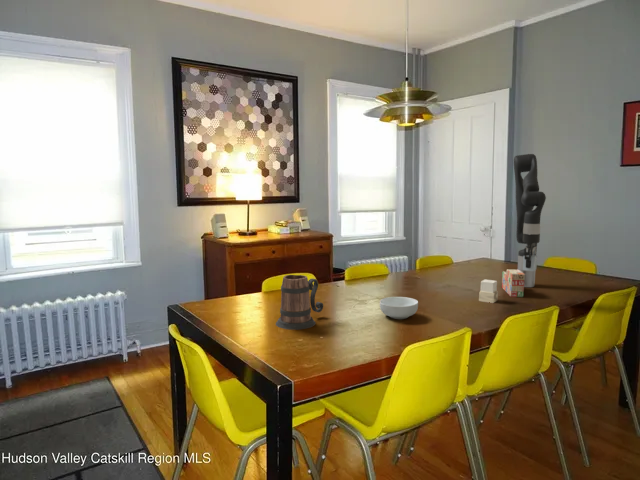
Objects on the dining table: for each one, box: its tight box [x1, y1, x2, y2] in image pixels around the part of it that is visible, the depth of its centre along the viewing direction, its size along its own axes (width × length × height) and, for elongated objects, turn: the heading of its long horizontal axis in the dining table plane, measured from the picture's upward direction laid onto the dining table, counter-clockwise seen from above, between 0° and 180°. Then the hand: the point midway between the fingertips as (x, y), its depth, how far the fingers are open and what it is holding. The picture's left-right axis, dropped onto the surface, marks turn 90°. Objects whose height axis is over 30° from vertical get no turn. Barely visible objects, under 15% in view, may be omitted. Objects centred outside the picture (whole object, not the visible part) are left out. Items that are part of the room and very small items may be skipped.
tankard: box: [275, 274, 324, 331], centre depth 192 cm, size 24×17×20 cm
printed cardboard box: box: [501, 268, 525, 298], centre depth 244 cm, size 21×6×12 cm, turn 171°
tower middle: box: [480, 279, 498, 293], centre depth 226 cm, size 6×6×5 cm
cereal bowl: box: [379, 296, 419, 320], centre depth 200 cm, size 17×17×7 cm
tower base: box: [478, 290, 499, 304], centre depth 227 cm, size 7×7×5 cm
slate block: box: [523, 254, 538, 272], centre depth 223 cm, size 5×5×7 cm
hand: (529, 266), depth 223 cm, fingers closed on slate block, 5 cm apart
